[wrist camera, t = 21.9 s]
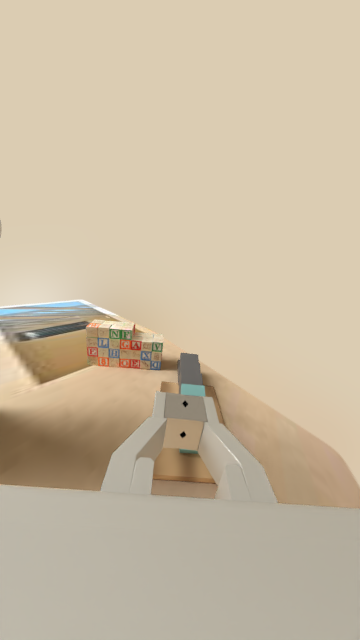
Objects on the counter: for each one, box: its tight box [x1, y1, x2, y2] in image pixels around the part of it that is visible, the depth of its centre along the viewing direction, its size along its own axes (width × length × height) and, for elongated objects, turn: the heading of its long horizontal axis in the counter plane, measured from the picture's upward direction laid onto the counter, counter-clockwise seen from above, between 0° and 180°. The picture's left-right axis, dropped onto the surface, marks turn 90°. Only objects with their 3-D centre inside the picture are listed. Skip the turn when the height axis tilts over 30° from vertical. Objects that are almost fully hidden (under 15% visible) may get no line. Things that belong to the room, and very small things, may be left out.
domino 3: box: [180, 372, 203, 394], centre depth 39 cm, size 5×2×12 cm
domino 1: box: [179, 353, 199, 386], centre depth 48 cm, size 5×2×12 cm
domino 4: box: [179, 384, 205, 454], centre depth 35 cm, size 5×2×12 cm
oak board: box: [152, 382, 225, 483], centre depth 38 cm, size 14×22×1 cm, turn 1°
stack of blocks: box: [86, 320, 163, 370], centre depth 55 cm, size 21×6×12 cm, turn 93°
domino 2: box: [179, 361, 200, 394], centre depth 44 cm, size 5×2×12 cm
